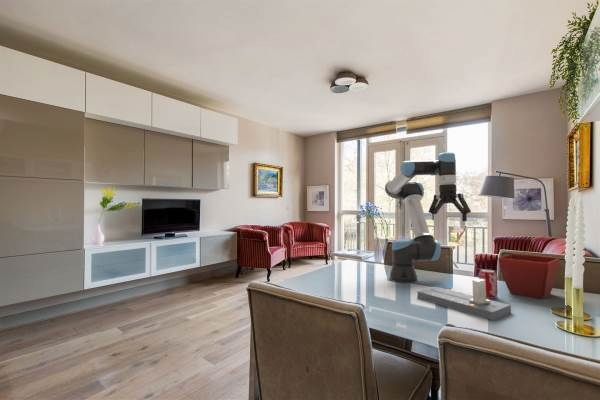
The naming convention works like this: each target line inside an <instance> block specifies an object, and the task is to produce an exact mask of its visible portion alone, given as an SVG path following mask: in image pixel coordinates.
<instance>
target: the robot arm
mask: <svg viewBox="0 0 600 400" xmlns="http://www.w3.org/2000/svg"><path fill="white" fill-rule="evenodd" d="M456 163H457V162H456V154H455V153H454V152H451V151H450V152H442V153H439V154H438V158H437V159H436V160H405V161H402V162H401V165H400V171H399V172H398V173H397V174H396V175H395V176H394V177H393V178H392V179H390V180H388V181H387V182H386V183H385V186H384V191H385V193H386V195H388V196H389V197H391V198H392V199H396V200H397V199H398V200H399V199H400V200H401V199H402V201H403V203H404V204H405V205H406V207H407V211H408V215H409V219H410V224H411V226H412V231H413V235H414V237H413V238H410V237H409V238H408V237H407V238H399V239H398V238H397V239H395V240H393V241H392V243H391V244H392V245H391V251H392V252H391V253H392V254H391V255H392V256H391V257H392V267H391V270H390V273H389V279H390V280H391V279H392V280H391V281H393V280H395V281H394V282H397V281H399V282H398V283H406V282H409V283H416V282H418V281H419V280H418V275H417V271H416V269H415V266H414V265H415V263H414V262H433V261H438V260H439V258H440V256H441V250H442V245H441V243H440V241H438V240H437V239H435V238H434V235H432V234H431V233H430V230H429V227H428V223H427V219H426V216H425V212H424V209H423V206H422V203H421V201H422V200H423V197H424V195H425V192H424V191H425V190H424V189H425V188H424V186H423V184H422V183H421V182H420V181H418V180H413V178H414V177H416V176H438V184H439V185H438V187H439V188H438V190H439V194H433V200H432V201H431V204H430V207H429V209H428V213H429V214H431V216H432V221H433V227H434V228H438V227H439V223H440V222H439V214H438V213H439V211H440V210H441V208H442V207H443V206H444V204H453V206H454V207H456V209H457V210H458V211H459V212H460V214H459V227H460V228H459V229H466V221H468V218H467V214H469V213H471V212H472V211H471V209H470V207H469V205H468V203H467V202H466V199H465V198H464V197H465V196H464V194H463V193H461V192H460V193H457V184H456V183H457V169H456V166H457V165H456ZM457 199H458V200H457Z"/></svg>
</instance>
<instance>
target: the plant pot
mask: <svg viewBox="0 0 600 400" xmlns="http://www.w3.org/2000/svg"><path fill="white" fill-rule="evenodd" d="M497 259H498V263H499V267H500V268H499V269H500V271H501V276H502V277H503V280H504V283H505V285H506V288H507V290H508V292H509V293H511V294H517V295H520V296H521V295H522V296H526V297H532V298H537V299H544V298H546V297H547V296H549V295H550V294H551V293H552V291H553V287H554V285H555V282H556V279H557V274H558V270H559V263H560V258H559V257H548V256H541V255H530V254H529V255H528V254H517V253H510V254H507V255H504V256H499V257H498V258H497Z"/></svg>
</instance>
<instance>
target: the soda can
mask: <svg viewBox="0 0 600 400" xmlns="http://www.w3.org/2000/svg"><path fill="white" fill-rule="evenodd" d="M478 279H484V280H485V286H486V299H496V297H498V276H497V274H496V271H495V270H494V269H485V268H482V269H480V270H479V273H478Z"/></svg>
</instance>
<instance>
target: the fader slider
mask: <svg viewBox="0 0 600 400" xmlns="http://www.w3.org/2000/svg"><path fill="white" fill-rule="evenodd" d="M472 296H473V299H470V300H469V302H470V303H474V304H478V305H482V306H483V305H485V304H488V303H490V300H491V299H489V300H487V299H488V298H486V286H485V280H484V279H479V278H477V279H476V278H475V279H474V280H472Z"/></svg>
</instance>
